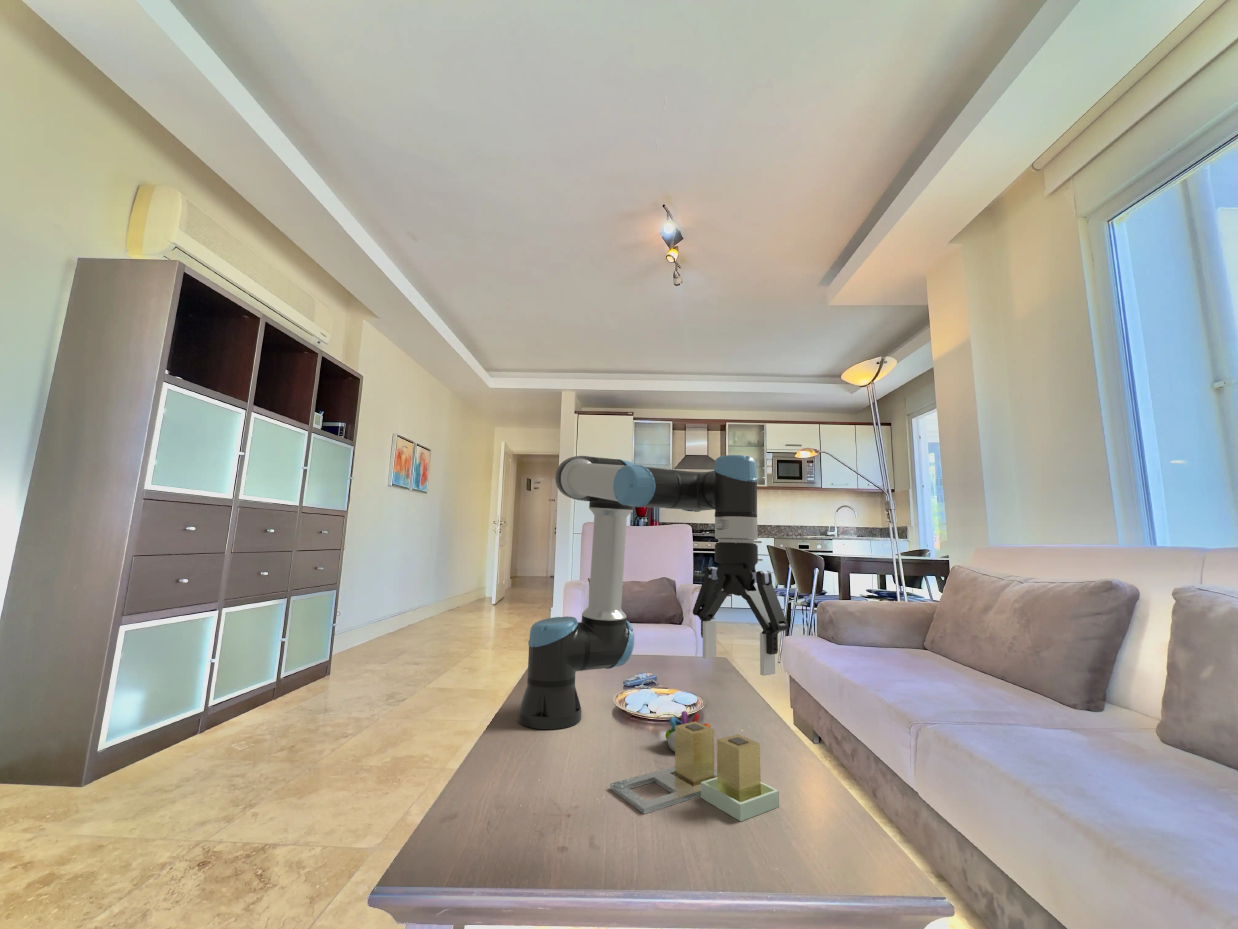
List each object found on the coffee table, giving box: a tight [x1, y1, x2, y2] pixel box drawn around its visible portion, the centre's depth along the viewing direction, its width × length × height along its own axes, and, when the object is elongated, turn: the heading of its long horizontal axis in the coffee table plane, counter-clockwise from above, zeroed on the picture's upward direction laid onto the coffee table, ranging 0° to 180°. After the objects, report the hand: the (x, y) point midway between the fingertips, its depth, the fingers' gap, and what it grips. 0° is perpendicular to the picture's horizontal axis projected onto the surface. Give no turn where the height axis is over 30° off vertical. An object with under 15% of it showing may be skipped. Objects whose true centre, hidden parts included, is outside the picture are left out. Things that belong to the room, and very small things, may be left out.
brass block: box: [716, 734, 762, 802], centre depth 87 cm, size 5×5×9 cm
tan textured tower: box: [674, 721, 715, 786], centre depth 94 cm, size 5×5×9 cm
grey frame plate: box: [609, 765, 717, 815], centre depth 91 cm, size 10×20×1 cm, turn 123°
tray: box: [700, 777, 780, 822], centre depth 86 cm, size 9×9×2 cm
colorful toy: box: [664, 710, 711, 753], centre depth 109 cm, size 8×10×7 cm
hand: (736, 665), depth 89 cm, fingers open, 13 cm apart
